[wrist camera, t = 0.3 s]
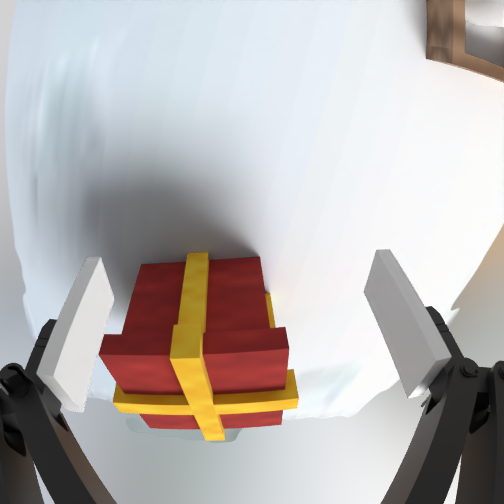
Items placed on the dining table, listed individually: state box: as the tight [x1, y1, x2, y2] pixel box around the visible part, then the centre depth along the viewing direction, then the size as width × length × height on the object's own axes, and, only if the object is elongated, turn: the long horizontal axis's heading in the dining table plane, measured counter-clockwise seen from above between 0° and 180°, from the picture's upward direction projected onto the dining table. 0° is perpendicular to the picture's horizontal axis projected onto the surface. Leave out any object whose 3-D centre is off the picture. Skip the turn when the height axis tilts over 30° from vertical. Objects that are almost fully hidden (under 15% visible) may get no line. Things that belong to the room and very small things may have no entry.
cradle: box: [426, 0, 504, 83], centre depth 24 cm, size 20×19×6 cm
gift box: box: [98, 252, 299, 440], centre depth 46 cm, size 25×25×20 cm
